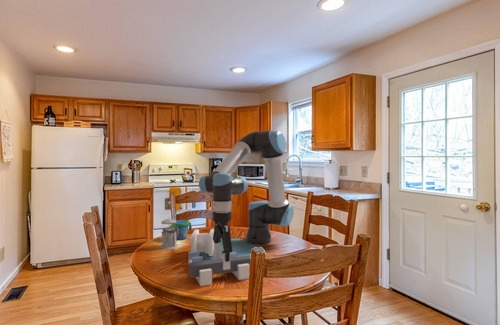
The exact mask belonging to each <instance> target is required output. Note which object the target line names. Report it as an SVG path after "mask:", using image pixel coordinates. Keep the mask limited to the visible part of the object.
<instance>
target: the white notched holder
mask: <svg viewBox="0 0 500 325" xmlns="http://www.w3.org/2000/svg"><path fill="white" fill-rule="evenodd" d="M223 251H224V249H223V247H221V258H220V259H223V253H222V252H223ZM237 255H238V252H236V251H232V252H231V253H230V258H232V257H238V256H237ZM200 261H204V257H203V255H199V251H192V252H191V251H188V264H189V263H193V262H200ZM249 269H250V265H249V264H248V263H247V264H239V265H237V271H235V272H231V273H232V274H233V275H234V276H235V278H236V279H237V280H239V281H243V280H247V279H248V280H249ZM250 270H251V269H250ZM195 279H196V280H197V283H198V284H199V286H200V287H205V286H211V285H213V275H212V269H211V268H210V269H203V270H199V277H195Z"/></svg>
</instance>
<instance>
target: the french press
mask: <svg viewBox="0 0 500 325" xmlns="http://www.w3.org/2000/svg"><path fill="white" fill-rule="evenodd" d="M166 204H168V205H170V204H172V203H171V201H167V202H166ZM176 221H177V220H175V219H173V218H166V219H163V220H162V221H161V224H162V225H171V224H174V223H176ZM176 228H177V227H176ZM161 230H162V231H161V245H160V246H159V249H161V250H166V251H167V250H174V249H177V248H178V247H179V245H178V244H177V239H176V238H177V237H176V231H174V230H176V229H175V225H174V227H172V228H170V227H164V228H162V229H161ZM173 233H174V234H173ZM177 236H178V229H177Z"/></svg>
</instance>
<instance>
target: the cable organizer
mask: <svg viewBox="0 0 500 325" xmlns="http://www.w3.org/2000/svg"><path fill="white" fill-rule="evenodd" d="M213 233H214V228H211V229H210V231H209V233H203V232H202V233H201V232H200V230H199V229H194V230H193V232H192V234H191V235H190V237H189V240H190V252H192V251H199V256H201V255H200V253H205V255H207V254H208V257H210V256H212V257H213V256H214V240H213Z"/></svg>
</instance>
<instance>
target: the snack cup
mask: <svg viewBox="0 0 500 325" xmlns="http://www.w3.org/2000/svg"><path fill="white" fill-rule="evenodd" d="M175 221H176V223H174V224H169V228H173V227H174V225H175V229H176V230H174V231H176V237H177V238H176V240H179V241H180V240H185V239H187V238H188V232H189V231H191V232H192V229H193V226H192V223H191V222H190V221H189V220H187V219H185V220H184V219H183V220H182V219H179V220H178V219H177V220H175ZM176 227H177V228H176ZM177 229H178V236H177ZM173 235H174V233H173Z"/></svg>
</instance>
